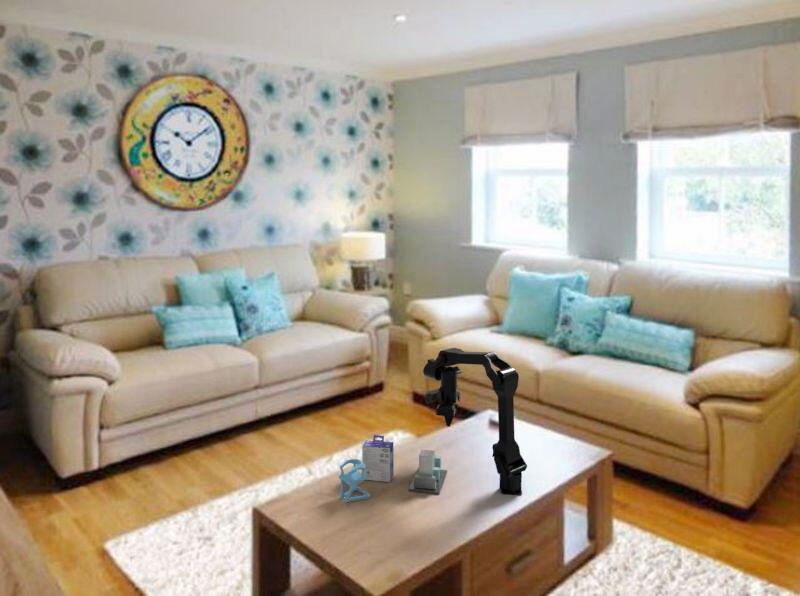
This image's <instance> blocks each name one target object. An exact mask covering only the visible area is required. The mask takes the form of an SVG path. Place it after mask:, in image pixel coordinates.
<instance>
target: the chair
mask: <svg viewBox="0 0 800 596" xmlns="http://www.w3.org/2000/svg"><path fill="white" fill-rule="evenodd" d="M348 464H351V465H353V467H352V468H351V469H350V470H349V471H348V472H345V471H344V469H343V468H344V467H345V466H346V465H348ZM338 467H339V469H340V472H341V473H340V474H339V475H338V478H339V479H340V493H339V500H344V501H343V502H344V503H345V502H346V503H349V502H348V501H350V502H354V501H353V500H356V501H362V500H367V499H370V498H371V494H370V493H368V492H367V491H365V490H363V489H362V488H361V487H359V486H358V484H360V483H361V482H363V481H368V480H367V477H366V476H365V475H364V471H365V467H366V466H365V465H364V463H363V462H362V460H361V459H358V458H351V459H347V460H345V461H344V462H342V464H340V465H339V466H338ZM359 470H362V471H359ZM346 484H347V485H348V486H349V488H348V491H345V489H346ZM356 489H357V490H356ZM353 491H354V492H355V491H358V492H360V493H361V492H362V494H363V495H358V496H352V497H350V496H351V495H352V494H353V493H354V492H353ZM352 492H353V493H352ZM364 494H365V495H364ZM344 497H345V498H344ZM342 498H344V499H342ZM366 498H367V499H366ZM361 499H362V500H361Z"/></svg>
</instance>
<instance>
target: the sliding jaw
mask: <svg viewBox="0 0 800 596" xmlns="http://www.w3.org/2000/svg"><path fill="white" fill-rule="evenodd" d="M441 467H442V456H441V455H435V476H436V480H439V478H440V470H441ZM417 470H418V475H419V466H418V467H417Z"/></svg>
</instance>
